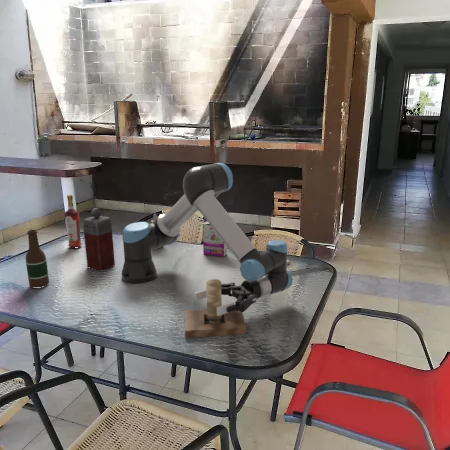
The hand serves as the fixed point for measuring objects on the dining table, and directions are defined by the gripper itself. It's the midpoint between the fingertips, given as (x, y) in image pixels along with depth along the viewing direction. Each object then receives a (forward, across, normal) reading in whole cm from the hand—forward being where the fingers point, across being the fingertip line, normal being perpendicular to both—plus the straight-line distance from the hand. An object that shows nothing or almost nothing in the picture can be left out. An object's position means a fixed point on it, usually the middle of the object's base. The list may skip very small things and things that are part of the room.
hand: (205, 304), depth 144 cm
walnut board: (-3, 0, -9) cm, 10 cm away
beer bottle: (+38, +71, -9) cm, 81 cm away
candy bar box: (-43, +59, -9) cm, 74 cm away
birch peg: (-3, 0, -9) cm, 10 cm away
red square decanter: (+10, +78, -9) cm, 79 cm away
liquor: (+11, +112, -9) cm, 113 cm away
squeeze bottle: (-25, +87, -9) cm, 91 cm away
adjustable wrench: (-54, +26, -10) cm, 60 cm away
